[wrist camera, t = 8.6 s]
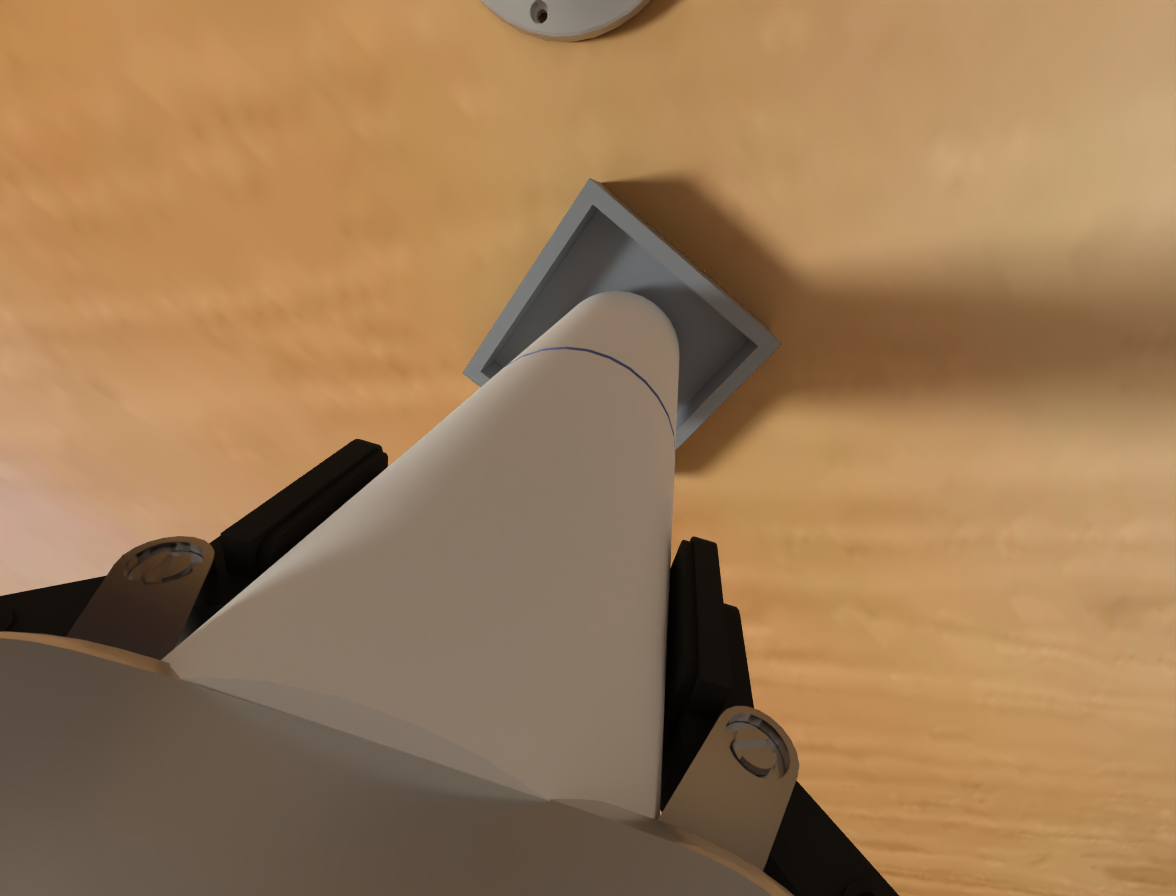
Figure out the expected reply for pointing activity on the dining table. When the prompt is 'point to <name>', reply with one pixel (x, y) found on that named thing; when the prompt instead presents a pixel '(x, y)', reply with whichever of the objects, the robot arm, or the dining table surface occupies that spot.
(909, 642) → the dining table surface
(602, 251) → the tray
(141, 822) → the robot arm
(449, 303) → the dining table surface
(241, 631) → the cylindrical container
